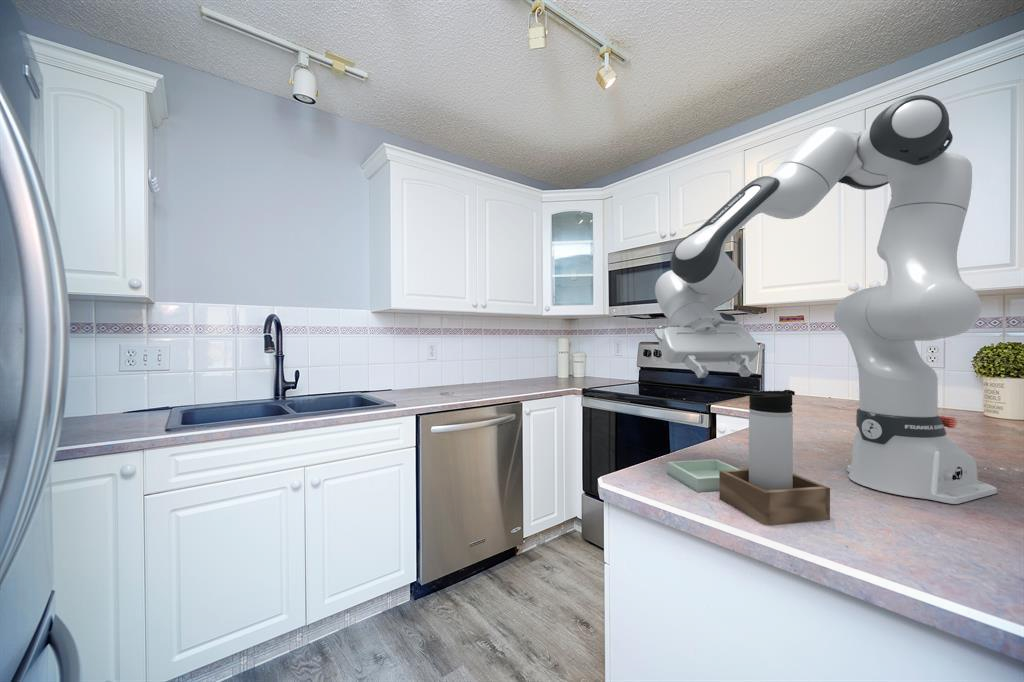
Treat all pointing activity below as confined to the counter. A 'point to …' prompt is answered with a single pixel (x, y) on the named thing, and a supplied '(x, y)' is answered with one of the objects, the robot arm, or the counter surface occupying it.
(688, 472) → the dock
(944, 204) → the robot arm
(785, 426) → the travel mug
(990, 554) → the counter surface
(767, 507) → the square wooden frame
